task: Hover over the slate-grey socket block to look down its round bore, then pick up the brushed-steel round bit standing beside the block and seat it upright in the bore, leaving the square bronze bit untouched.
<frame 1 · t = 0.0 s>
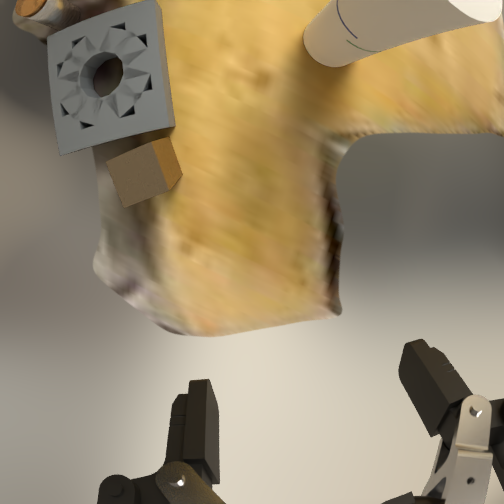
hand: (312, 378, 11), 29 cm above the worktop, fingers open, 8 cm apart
cylindrical container: (330, 41, 31), on the worktop
socket block: (112, 78, 30), on the worktop
square bit: (157, 162, 35), on the worktop
round bit: (67, 18, 25), on the worktop
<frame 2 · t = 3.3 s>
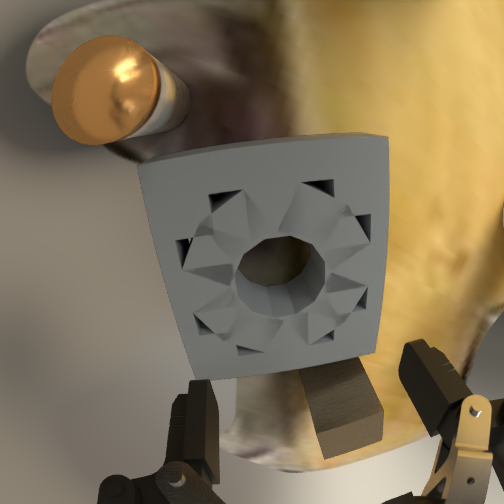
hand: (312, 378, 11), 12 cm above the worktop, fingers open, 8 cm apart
socket block: (272, 252, 22), on the worktop
square bit: (325, 361, 27), on the worktop
round bit: (160, 102, 17), on the worktop
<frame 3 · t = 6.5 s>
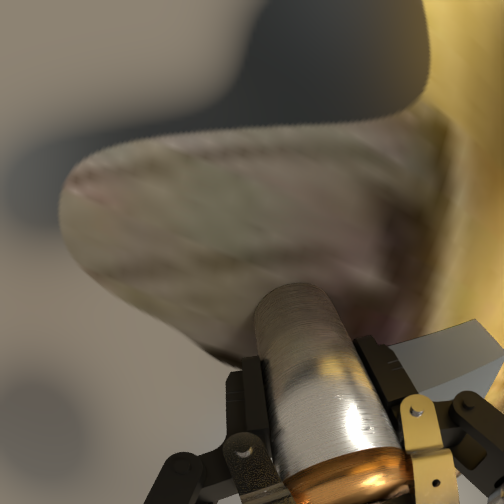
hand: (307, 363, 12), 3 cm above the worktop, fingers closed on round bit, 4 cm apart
socket block: (374, 418, 20), on the worktop
round bit: (294, 318, 15), on the worktop, touching gripper
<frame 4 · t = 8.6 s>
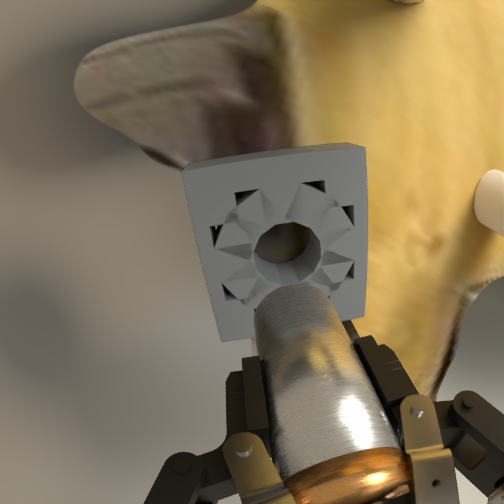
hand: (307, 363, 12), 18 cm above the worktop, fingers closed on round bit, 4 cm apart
cylindrical container: (491, 197, 29), on the worktop
socket block: (280, 236, 29), on the worktop
round bit: (293, 318, 15), point 14 cm above the worktop, touching gripper
when the fingers open (5 cm above the worktop, at t = 10.9 s): round bit drops 2 cm, resting in socket block.
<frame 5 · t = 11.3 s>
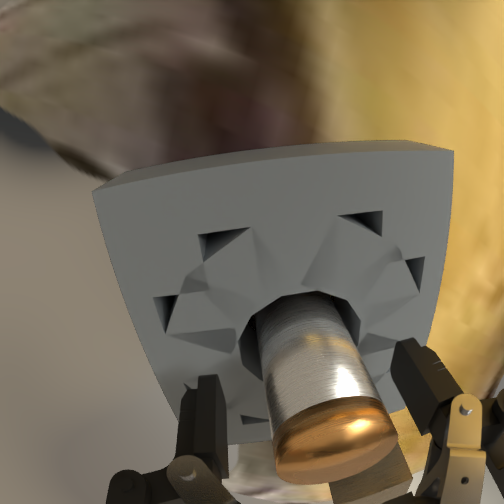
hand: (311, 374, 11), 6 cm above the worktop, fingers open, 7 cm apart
socket block: (286, 297, 17), on the worktop
square bit: (342, 409, 22), on the worktop
round bit: (288, 297, 17), resting in socket block
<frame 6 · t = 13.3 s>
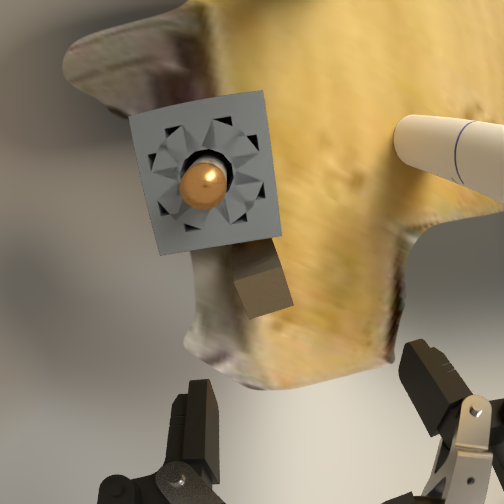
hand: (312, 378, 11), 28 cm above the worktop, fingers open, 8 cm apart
cylindrical container: (414, 140, 35), on the worktop
socket block: (208, 169, 35), on the worktop
square bit: (257, 256, 40), on the worktop
round bit: (209, 169, 35), resting in socket block
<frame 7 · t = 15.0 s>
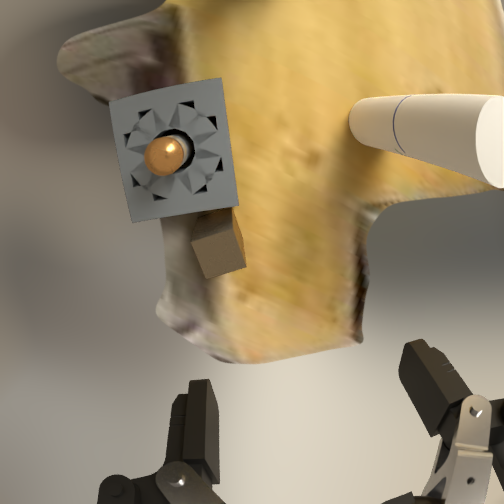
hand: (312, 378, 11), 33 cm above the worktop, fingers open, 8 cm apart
cylindrical container: (370, 122, 39), on the worktop
socket block: (177, 148, 38), on the worktop
square bit: (220, 228, 43), on the worktop
round bit: (178, 148, 38), resting in socket block
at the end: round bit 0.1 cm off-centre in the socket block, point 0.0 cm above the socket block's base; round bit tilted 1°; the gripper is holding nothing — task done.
